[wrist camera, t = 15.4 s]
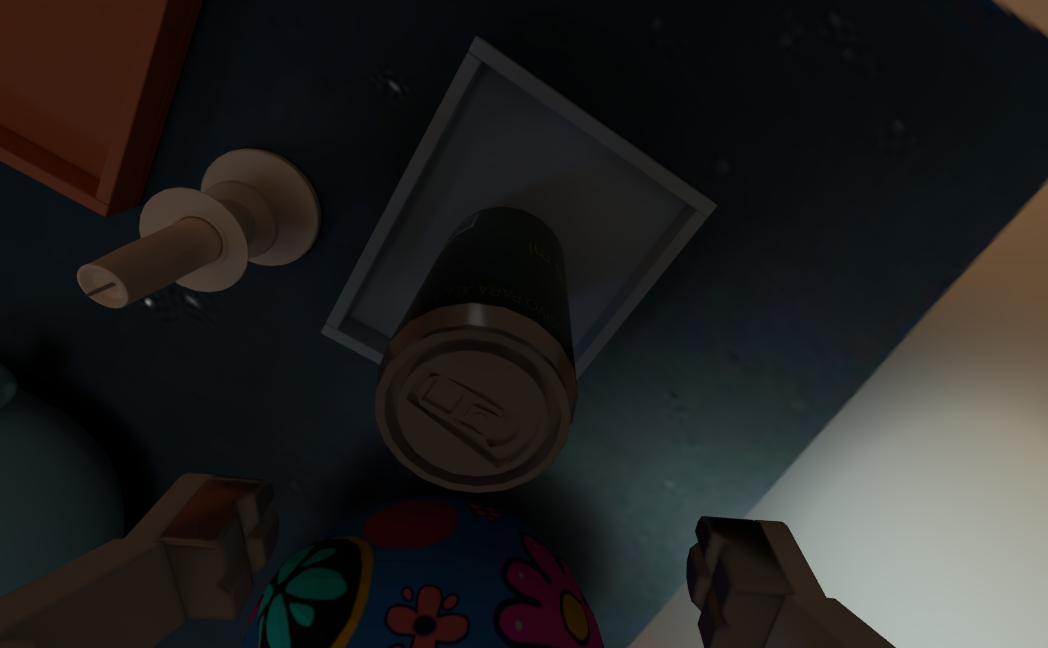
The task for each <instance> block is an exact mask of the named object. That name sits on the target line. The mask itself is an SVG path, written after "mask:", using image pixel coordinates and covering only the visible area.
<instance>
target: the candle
mask: <svg viewBox="0 0 1048 648" xmlns="http://www.w3.org/2000/svg"><path fill="white" fill-rule="evenodd" d="M321 223H322V221H321V207H320V204H319V200H318V197H317V194H316V192H315V190H314V188H313V187H312V185H311V183H310V181H309V180H308V178H307V177H306V176H305V175H304V174H303V173H302V172H301V171H300V170H299V168H298V167H297V166H296V165H294V164H293V163H291V162H290V161H288V160H287V159H285V158H284V157H283V156H281V155H278V154H276V153H273V152H271V151H268V150H265V149H256V148H245V149H239V150H234V151H230V152H228V153H226V154H224V155H222V156H220V157H218V158H217V159H216V160H215V161H214V162H213V163H212V164H211V165H210V166H209V168H208V169H207V171H206V173H205V176H204V178H203V180H202V185H201V191H198V190H196V189H190V188H181V187H178V188H172V189H166V190H164V191H162V192H160V193H158V194H156V195H154V196H153V197H152V198H151V199H150V200H149V201H148V202H147V203H146V204H145V206H144V208H143V211H142V213H141V216H140V227H139V230H140V235H141V239H139V240H137V241H134V242H132V243H130V244H128V245H125V246H123V247H121V248H119V249H117V250H115V251H113V252H111V253H109V254H107V255H105V256H103V257H101V258H99V259H97V260H95V261H93V262H92V263H90V264H87V265H84V266H82V267H80V269H79V270H78V273H77V279H78V282H79V285H80V287H81V288H82V289H83V291H84V292H85V293H86V296H88V297H90V298H92V299H93V300H95V301H96V302H98V303H100V304H102V305H104V306H107V307H111V308H122V307H124V306H127V305H129V304H131V303H133V302H135V301H137V300H139V299H141V298H143V297H145V296H147V295H149V294H151V293H153V292H155V291H157V290H159V289H161V288H163V287H165V286H167V285H169V284H171V283H173V282H176V283H178V284H180V285H181V286H184V287H187V288H190V289H192V290H195V291H204V292H213V291H220V290H223V289H226V288H228V287H230V286H232V285H234V284H235V283H236V282H237V281H238V280H239V279H240V278H241V277H242V276H243V274H244V272H245V270H246V268H247V266H248V261H250V262H253V263H256V264H259V265H268V266H277V265H284V264H288V263H290V262H292V261H295V260H297V259H299V258H300V257H302V256H303V255H304V254H305V253H306V252H307V251H308V250H310V249H311V248H312V246H313V245H314V243H315V241H316V239H317V238H318V236H319V231H320V227H321Z"/></svg>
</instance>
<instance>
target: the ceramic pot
mask: <svg viewBox="0 0 1048 648" xmlns="http://www.w3.org/2000/svg"><path fill="white" fill-rule="evenodd" d="M241 648H604V645H603V642H602V638H601V635H600V632H599V628H598V625H597V623H596V620H595V618H594V615H593V613H592V611H591V609H590V607H589V605H588V603H587V602H586V600H585V598H584V596H583V594H582V592H581V590H580V588H579V586H578V584H577V582H576V580H575V578H574V577H573V575H572V573H571V571H570V569H569V568H568V566H567V565H566V563H565V562H564V561H563V559H562V558H561V557H560V556H559V554H558V553H557V552H556V551H555V550H554V548H553V547H552V546H551V545H550V544H549V543H548V542H547V541H546V540H545V539H544V538H543V537H542V536H541V535H540V534H539V533H538V532H537V531H536V530H535V529H534V528H532V527H531V526H529V525H527V524H526V523H524V522H522V521H521V520H519V519H517V518H516V517H514V516H512V515H511V514H509V513H507V512H506V511H504V510H502V509H500V508H497V507H493V506H489V505H485V504H482V503H478V502H474V501H471V500H467V499H463V498H460V497H456V496H431V495H425V496H414V497H406V498H401V499H397V500H393V501H389V502H386V503H383V504H380V505H378V506H375V507H373V508H371V509H369V510H367V511H365V512H363V513H361V514H360V515H358V516H356V517H354V518H352V519H350V520H348V521H347V522H345V523H344V524H342V525H341V526H339V527H338V528H336V529H334V530H333V531H331V532H330V533H328V534H327V535H326V536H324V537H323V538H321V539H320V540H318V541H317V542H315V543H312V544H310V545H308V546H307V547H305V548H303V549H302V550H300V551H299V552H297V553H295V554H294V555H292V556H291V557H289V558H288V559H287V560H286V561H285V562H284V563H283V564H282V566H281V567H280V568H279V570H278V571H277V573H276V574H275V575H274V577H273V578H272V580H271V581H270V583H269V585H268V587H267V589H266V591H265V593H264V595H263V596H262V597H261V598H260V599H259V600H258V602H257V604H256V606H255V608H254V610H253V612H252V614H251V617H250V620H249V628H248V631H247V633H246V636H245V638H244V641H243V643H242V646H241Z"/></svg>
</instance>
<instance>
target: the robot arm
mask: <svg viewBox="0 0 1048 648" xmlns="http://www.w3.org/2000/svg"><path fill="white" fill-rule="evenodd" d="M274 497H275V495H274V490H273V486H272V483H271V482H269V481H267V480H260V479H251V478H242V477H233V476H224V475H209V474H200V473H191V472H189V473H187V474H185V475H183V476H181V477H180V478H179V479H178V480H177V481H176V482H175V483H174V484H173V485H172V486H171V487H170V488H169V490H168V491H167V492H166V493H165V494H164V495H163V496H162V497H161V498H160V500H159V501H158V502H157V503H156V504H155V505H154V506H153V507H152V508H151V509H150V511H149V512H148V513H147V514H146V515H145V516H144V517H143V518H142V519H141V520H140V522H139V523H138V524H137V525H136V526H135V527H134V528H133V529H132V530H131V531H130V533H129V534H128V535H127V536H126V537H125V538H124V539H113V540H111V541H109V542H107V543H105V544H103V545H101V546H99V547H97V548H96V549H94V550H92V551H90V552H88V553H86V554H84V555H82V556H80V557H78V558H76V559H74V560H72V561H70V562H68V563H66V564H64V565H62V566H60V567H58V568H56V569H54V570H52V571H51V572H49V573H47V574H45V575H43V576H41V577H39V578H37V579H35V580H33V581H31V582H29V583H27V584H25V585H23V586H21V587H19V588H17V589H15V590H13V591H11V592H9V593H8V594H6V595H4V596H2V597H0V648H153V647H154V646H155V645H156V644H158V643H159V642H160V641H161V640H163V639H164V638H165V637H166V636H168V635H169V634H170V633H171V632H173V631H174V630H175V629H176V628H178V627H179V626H180V625H181V624H183V623H184V622H185V621H186V618H200V619H219V620H236V618H237V617H238V615H239V613H240V611H241V610H242V608H243V606H244V604H245V603H246V601H247V599H248V597H249V596H250V594H251V592H252V590H253V589H254V582H253V577H252V575H253V574H255V573H256V572H258V571H259V570H261V569H262V568H264V567H265V566H266V565H267V564H268V562H269V560H270V558H271V556H272V554H273V552H274V549H275V546H276V543H277V539H278V535H279V519H278V514H277V513H276V512H275V511H274V510H273V509H272V508H271V507H270V506H269V505H270V503H271V501H272V500H273V498H274ZM695 533H696V536H697V539H698V543H696V544H695V545H694V546H693V547H691V548H690V551H689V555H688V559H687V573H686V577H687V584H688V590H689V594H690V598H691V601H692V602H693V603H694V604H695V605H696V606H697V607H698V609H699V610H701V615H700V618H699V621H698V627H699V630H700V634H701V637H702V641H703V644H704V648H895V647H894V646H893V645H892V644H890V642H888V641H887V640H886V639H885V638H883V637H882V636H880V635H879V634H878V633H877V632H876V631H875V630H873V629H872V628H871V627H870V626H868V625H867V624H866V623H865V622H863V621H862V620H861V619H860V618H858V617H857V616H856V615H855V614H853V613H852V612H851V611H850V610H849V609H847V608H846V607H845V606H843V605H842V604H841V603H840V602H839V601H837V600H836V599H834V598H826V596H825V594H824V592H823V590H822V588H821V587H820V585H819V583H818V581H817V579H816V577H815V576H814V574H813V572H812V570H811V568H810V567H809V565H808V563H807V561H806V559H805V557H804V556H803V554H802V552H801V550H800V548H799V546H798V544H797V543H796V541H795V539H794V537H793V535H792V533H791V532H790V530H789V528H788V526H787V525H785V524H784V523H783V522H778V521H763V520H755V521H754V520H748V519H734V518H721V517H707V516H702V517H701V518H700V519H699V521H698V523H697V526H696V530H695Z"/></svg>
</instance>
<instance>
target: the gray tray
mask: <svg viewBox="0 0 1048 648" xmlns="http://www.w3.org/2000/svg"><path fill="white" fill-rule="evenodd" d="M469 52H470V53H469ZM469 52H468V53H467V54H466V56H465V58H464V60H463V62H462V63H461V65H460V67H459V69H458V71H457V73H456V75H455V77H454V79H453V81H452V83H451V85H450V86H449V88H448V90H447V92H446V94H445V96H444V98H443V100H442V102H441V104H440V106H439V107H438V109H437V111H436V113H435V115H434V117H433V119H432V121H431V123H430V125H429V127H428V128H427V130H426V132H425V134H424V136H423V138H422V140H421V142H420V144H419V146H418V148H417V149H416V151H415V153H414V155H413V157H412V159H411V161H410V163H409V165H408V167H407V169H406V170H405V172H404V174H403V176H402V178H401V180H400V182H399V184H398V186H397V188H396V190H395V192H394V193H393V195H392V197H391V199H390V201H389V203H388V205H387V207H386V209H385V211H384V213H383V214H382V216H381V218H380V220H379V222H378V224H377V226H376V228H375V230H374V232H373V234H372V235H371V237H370V239H369V241H368V243H367V245H366V247H365V249H364V251H363V253H362V255H361V256H360V258H359V260H358V262H357V264H356V266H355V268H354V270H353V272H352V274H351V276H350V278H349V279H348V281H347V283H346V285H345V287H344V289H343V291H342V293H341V295H340V297H339V299H338V300H337V302H336V304H335V306H334V308H333V310H332V312H331V314H330V316H329V318H328V320H327V322H326V323H325V325H324V327H323V329H322V331H321V333H322V334H324V335H325V336H327V337H329V338H331V339H333V340H335V341H337V342H339V343H340V344H342V345H344V346H346V347H348V348H350V349H352V350H353V351H355V352H357V353H359V354H361V355H363V356H365V357H366V358H368V359H370V360H372V361H374V362H376V363H378V364H379V365H380V363H381V360H382V358H383V356H384V353H385V351H386V349H387V346H388V344H389V342H390V340H391V338H392V337H393V335H394V333H395V331H396V330H397V328H398V326H399V324H400V323H401V321H402V319H403V317H404V316H405V314H406V312H407V310H408V309H409V307H410V305H411V303H412V302H413V300H414V298H415V296H416V295H417V293H418V291H419V289H420V288H421V286H422V284H423V282H424V281H425V279H426V277H427V275H428V274H429V272H430V270H431V268H432V267H433V265H434V263H435V261H436V260H437V258H438V256H439V254H440V253H441V251H442V249H443V247H444V246H445V244H446V242H447V240H448V239H449V237H450V235H451V233H452V232H453V231H454V230H455V229H456V228H457V227H458V226H459V224H460V223H461V222H462V221H463V220H464V219H465V218H467V217H469V216H471V215H473V214H475V213H477V212H479V211H480V210H483V209H489V208H495V207H501V206H503V207H509V208H516V209H522V210H524V211H526V212H528V213H530V214H532V215H534V216H536V217H538V218H540V219H541V220H542V221H543V222H544V223H545V224H546V225H547V226H548V227H549V228H550V229H551V230H552V231H553V232H554V234H555V236H556V238H557V240H558V241H559V243H560V245H561V247H562V250H563V257H564V264H565V272H566V282H567V291H568V301H569V311H570V321H571V331H572V340H573V350H574V360H575V370H576V379H577V380H578V378H579V377H580V376H581V375H582V373H583V372H584V371H585V370H586V368H587V367H588V366H589V365H590V363H591V362H592V361H593V360H594V358H595V357H596V356H597V355H598V353H599V352H600V351H601V350H602V348H603V347H604V346H605V345H606V343H607V342H608V341H609V340H610V339H611V337H612V336H613V335H614V334H615V332H616V331H617V330H618V329H619V327H620V326H621V325H622V324H623V322H624V321H625V320H626V319H627V317H628V316H629V315H630V314H631V312H632V311H633V310H634V309H635V307H636V306H637V305H638V304H639V302H640V301H641V300H642V299H643V297H644V296H645V295H646V294H647V292H648V291H649V290H650V289H651V287H652V286H653V285H654V284H655V283H656V281H657V280H658V279H659V278H660V276H661V275H662V274H663V273H664V271H665V270H666V269H667V268H668V266H669V265H670V264H671V263H672V261H673V260H674V259H675V258H676V256H677V255H678V254H679V253H680V251H681V250H682V249H683V248H684V246H685V245H686V244H687V243H688V241H689V240H690V239H691V238H692V236H693V235H694V234H695V233H696V231H697V230H698V229H699V228H700V227H701V225H702V224H703V223H704V222H705V220H706V219H707V218H706V217H709V216H710V214H711V213H712V212H713V211H714V209H715V208H716V207H717V205H716V204H715V203H714V202H712V201H711V200H710V199H709V198H707V197H706V196H705V195H703V194H702V193H701V192H699V191H698V190H696V189H695V188H694V187H692V186H691V185H689V184H688V183H686V182H685V181H684V180H682V179H681V178H679V177H678V176H676V175H675V174H674V173H672V172H671V171H669V170H668V169H667V168H665V167H664V166H662V165H661V164H659V163H658V162H657V161H655V160H654V159H652V158H651V157H650V156H648V155H647V154H645V153H644V152H642V151H641V150H640V149H638V148H637V147H635V146H634V145H633V144H631V143H630V142H628V141H627V140H625V139H624V138H623V137H621V136H620V135H618V134H617V133H616V132H614V131H613V130H611V129H610V128H608V127H607V126H606V125H604V124H603V123H601V122H600V121H599V120H597V119H596V118H594V117H593V116H591V115H590V114H589V113H587V112H586V111H584V110H583V109H581V108H580V107H579V106H577V105H576V104H574V103H573V102H572V101H570V100H569V99H567V98H566V97H564V96H563V95H562V94H560V93H559V92H557V91H556V90H555V89H553V88H552V87H550V86H549V85H547V84H546V83H545V82H543V81H542V80H540V79H539V78H538V77H536V76H535V75H533V74H532V73H530V72H529V71H528V70H526V69H525V68H523V67H522V66H521V65H519V64H518V63H516V62H515V61H513V60H512V59H511V58H509V57H508V56H506V55H505V54H504V53H502V52H501V51H499V50H498V49H496V48H495V47H494V46H492V45H491V44H489V43H488V42H487V41H485V40H484V39H482V38H480V37H478V36H476V37H475V39H474V40H473V42H472V44H471V46H470V48H469Z"/></svg>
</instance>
